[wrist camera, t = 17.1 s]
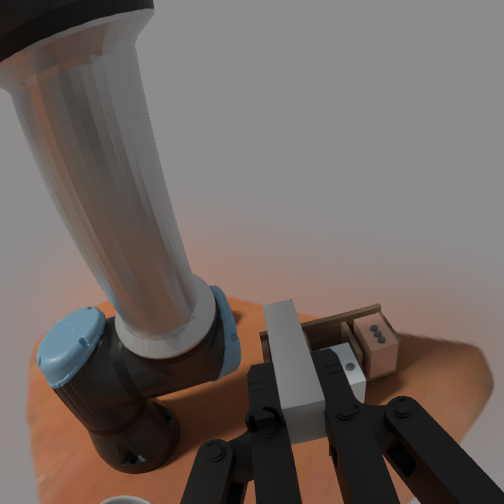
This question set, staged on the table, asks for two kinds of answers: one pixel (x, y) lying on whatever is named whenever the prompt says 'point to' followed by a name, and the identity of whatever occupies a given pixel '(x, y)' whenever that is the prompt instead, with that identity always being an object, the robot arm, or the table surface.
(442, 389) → the table surface
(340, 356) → the pale blue knobbed block
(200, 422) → the table surface
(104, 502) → the teacup
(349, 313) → the wooden compartment box
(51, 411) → the table surface
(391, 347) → the tan rectangular block
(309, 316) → the table surface
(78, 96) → the robot arm
